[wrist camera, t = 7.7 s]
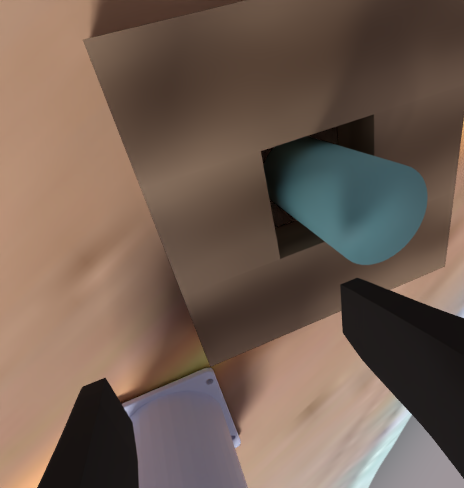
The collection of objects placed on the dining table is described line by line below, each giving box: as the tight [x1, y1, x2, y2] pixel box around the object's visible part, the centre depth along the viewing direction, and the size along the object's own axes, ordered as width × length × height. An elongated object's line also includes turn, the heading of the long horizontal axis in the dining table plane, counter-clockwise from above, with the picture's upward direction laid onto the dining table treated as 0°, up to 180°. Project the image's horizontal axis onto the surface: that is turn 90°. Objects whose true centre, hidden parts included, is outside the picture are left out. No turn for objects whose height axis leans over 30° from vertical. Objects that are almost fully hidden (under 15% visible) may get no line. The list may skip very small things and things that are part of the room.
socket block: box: [83, 0, 464, 367], centre depth 17 cm, size 16×16×3 cm
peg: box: [263, 136, 427, 265], centre depth 15 cm, size 4×4×7 cm
